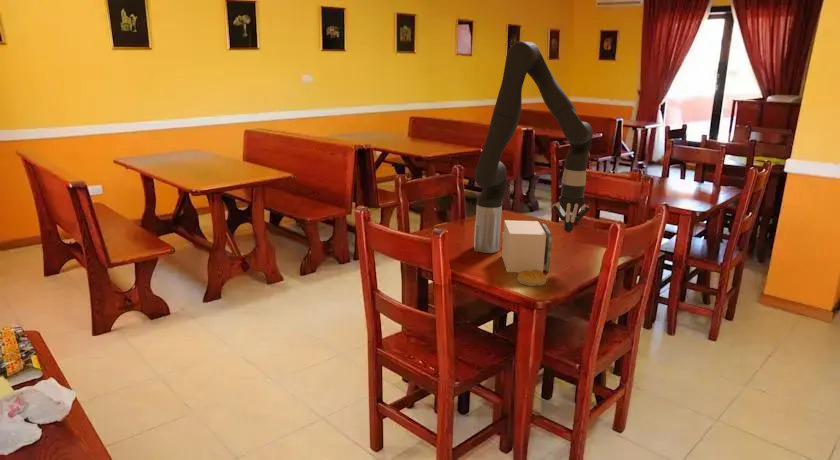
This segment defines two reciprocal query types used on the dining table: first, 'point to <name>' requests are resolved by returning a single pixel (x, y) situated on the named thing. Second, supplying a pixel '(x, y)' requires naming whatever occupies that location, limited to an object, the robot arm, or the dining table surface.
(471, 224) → the dining table surface
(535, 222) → the white upright box
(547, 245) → the carrier
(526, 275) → the bread roll
